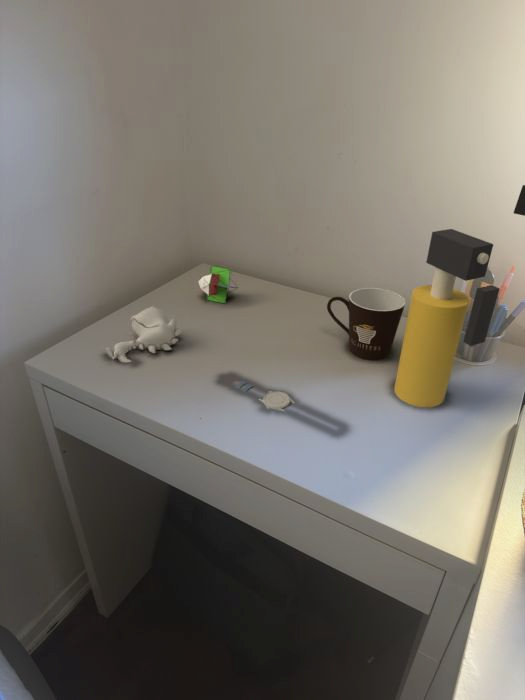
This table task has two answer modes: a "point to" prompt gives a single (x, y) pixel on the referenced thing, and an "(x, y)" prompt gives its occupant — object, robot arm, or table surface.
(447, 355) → the spray bottle
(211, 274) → the geometric puzzle
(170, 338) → the toy character
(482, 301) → the trigger
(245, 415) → the table surface
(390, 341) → the coffee mug
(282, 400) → the wristwatch
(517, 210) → the robot arm
